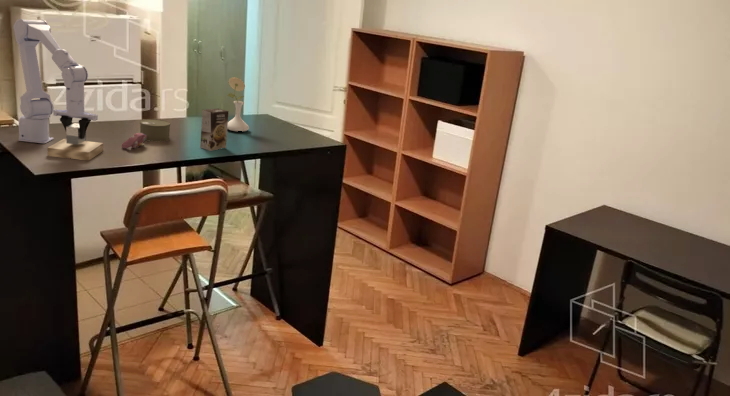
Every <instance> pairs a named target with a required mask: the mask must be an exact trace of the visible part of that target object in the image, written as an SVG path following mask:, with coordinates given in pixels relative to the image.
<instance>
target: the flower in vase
mask: <svg viewBox="0 0 730 396" xmlns="http://www.w3.org/2000/svg"><path fill="white" fill-rule="evenodd" d="M228 79H229V80H228V84H229V86H230V88H231V89H233V90H234V91H233V92H230V93H228V94H227V95H226V96H227V97H229V98H232V99H234V98H235V100H234V101H233V105H234V106H235V116H233V118H232V119H230V120H228V126H227V131H232V132H238V131H242V132H247V131H249V129H250V127H249V125H248V124H247V122H245V121H244V120H243V119H242V117H241V113H242V112H241V110H242V108H243V105H244V104H245V102H244V101H241V100H240V99H242V98H244V97H245V96H244V95H243V96H239V97H238V98H237V96H236V91H237V92H242V91H245V90H244V89H245V87H246V85H245V82H244V81H243V80H242V79H240V77H238V78H237V76H235V77H234V76H233V77H230V78H228Z"/></svg>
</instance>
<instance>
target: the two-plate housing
mask: <svg viewBox="0 0 730 396" xmlns="http://www.w3.org/2000/svg"><path fill="white" fill-rule="evenodd" d="M65 133H66V134H65V135H66V138H65V139H66V141H67V143H68V144H77V145H78V144H80V143H82V142H84V141H87V132H86V133H85V138H83V139H80V126H79V122H74V123H72V124H71V125H69V126H67V127H66V131H65Z"/></svg>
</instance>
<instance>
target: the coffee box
mask: <svg viewBox="0 0 730 396" xmlns="http://www.w3.org/2000/svg"><path fill="white" fill-rule="evenodd" d="M228 122H229V110H226V109H221V108H207V109H202V112H201V126H200V127H201V129H200V142H199V143H200V146H199V148H201V149H203V150H206V151H209V152H212V151H218V149H219V150H222V149H221V148H225V149H226V148H227V140H228V129H227V126H228Z"/></svg>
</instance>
